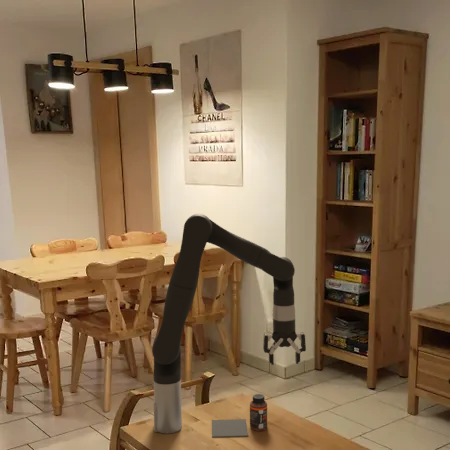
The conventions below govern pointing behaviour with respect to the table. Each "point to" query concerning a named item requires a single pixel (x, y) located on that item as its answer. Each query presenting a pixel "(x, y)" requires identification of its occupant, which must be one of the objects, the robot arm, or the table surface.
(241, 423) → the mat
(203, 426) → the table surface
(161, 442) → the table surface
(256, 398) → the supplement bottle
